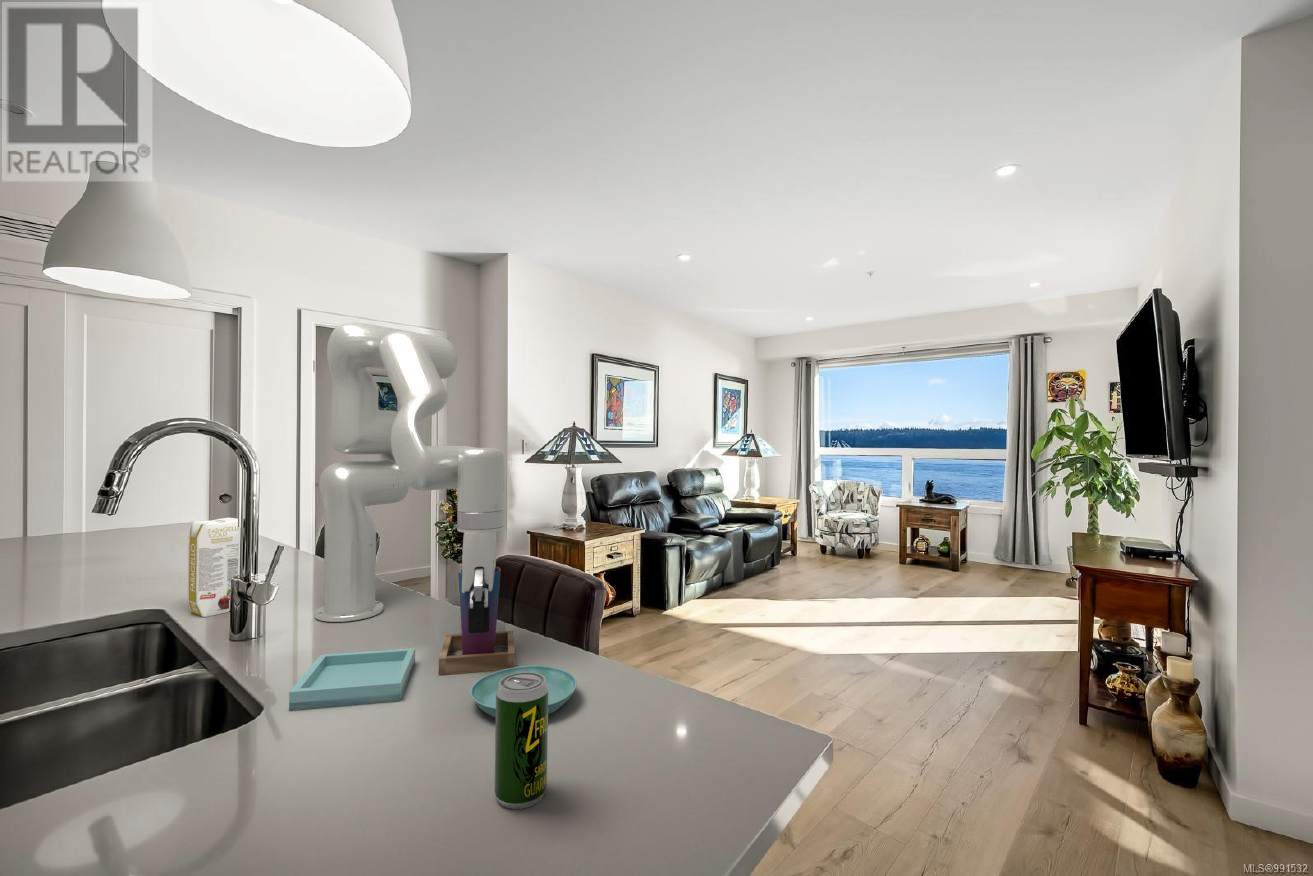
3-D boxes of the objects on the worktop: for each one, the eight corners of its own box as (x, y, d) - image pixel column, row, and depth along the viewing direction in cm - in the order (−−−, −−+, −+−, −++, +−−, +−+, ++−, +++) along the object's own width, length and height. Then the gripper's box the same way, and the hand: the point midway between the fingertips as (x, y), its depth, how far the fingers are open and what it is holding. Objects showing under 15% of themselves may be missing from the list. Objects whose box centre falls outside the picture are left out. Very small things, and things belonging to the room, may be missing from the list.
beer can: (483, 803, 61) (485, 687, 61) (514, 775, 66) (516, 668, 66) (528, 816, 59) (529, 696, 59) (556, 787, 64) (558, 676, 64)
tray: (320, 670, 94) (320, 654, 94) (415, 663, 97) (415, 648, 97) (289, 710, 80) (289, 692, 80) (400, 700, 84) (400, 683, 84)
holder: (445, 649, 104) (446, 634, 104) (513, 644, 107) (513, 630, 107) (438, 675, 93) (438, 659, 93) (514, 669, 95) (514, 653, 95)
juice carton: (248, 609, 125) (249, 519, 125) (200, 619, 117) (201, 524, 117) (230, 603, 129) (231, 516, 129) (183, 613, 121) (184, 520, 121)
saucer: (521, 674, 94) (521, 658, 94) (597, 697, 87) (597, 678, 87) (446, 711, 81) (446, 692, 81) (527, 740, 74) (528, 719, 74)
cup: (492, 667, 96) (494, 575, 96) (451, 666, 96) (452, 574, 96) (504, 651, 103) (505, 565, 103) (465, 650, 103) (466, 564, 103)
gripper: (461, 515, 107) (460, 610, 107) (452, 529, 90) (452, 642, 90) (504, 514, 109) (503, 607, 109) (503, 528, 92) (503, 638, 92)
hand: (480, 623), depth 99 cm, fingers open, 9 cm apart
